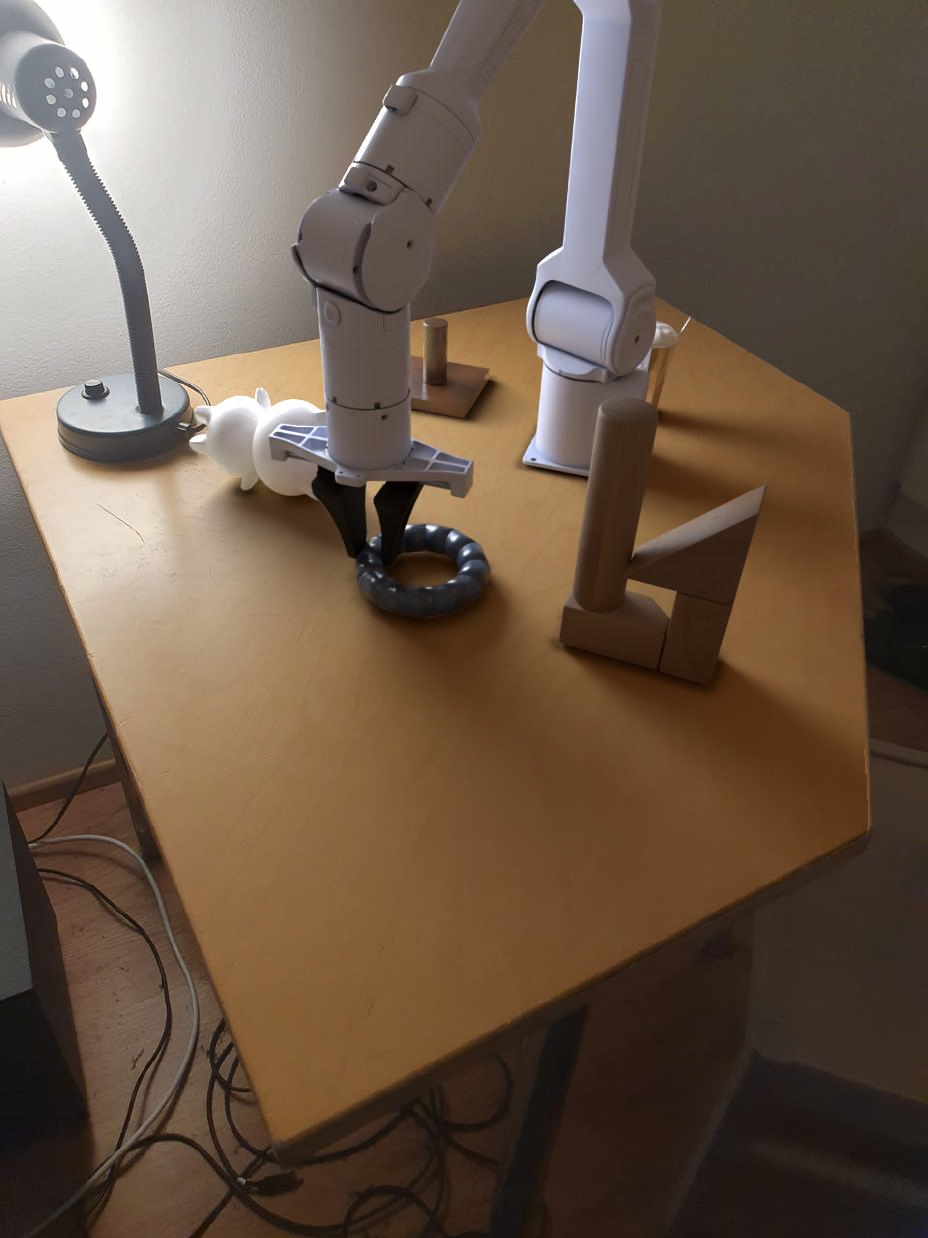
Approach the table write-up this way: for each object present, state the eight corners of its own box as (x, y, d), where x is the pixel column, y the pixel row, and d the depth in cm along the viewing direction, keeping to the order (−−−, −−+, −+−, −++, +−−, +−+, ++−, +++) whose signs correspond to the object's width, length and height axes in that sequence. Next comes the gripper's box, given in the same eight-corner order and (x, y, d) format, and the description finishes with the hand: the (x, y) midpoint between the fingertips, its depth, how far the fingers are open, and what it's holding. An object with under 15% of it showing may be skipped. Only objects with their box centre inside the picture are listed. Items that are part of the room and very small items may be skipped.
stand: (489, 379, 95) (493, 312, 91) (463, 418, 89) (466, 348, 84) (408, 365, 97) (408, 298, 92) (377, 402, 91) (375, 333, 86)
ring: (503, 556, 72) (504, 533, 70) (465, 636, 64) (466, 612, 63) (384, 530, 74) (383, 508, 72) (334, 605, 67) (333, 582, 65)
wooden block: (708, 688, 62) (777, 456, 50) (556, 645, 64) (588, 415, 53) (717, 654, 64) (785, 426, 53) (571, 614, 67) (604, 388, 55)
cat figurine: (191, 371, 74) (322, 396, 70) (260, 390, 84) (377, 413, 80) (175, 478, 75) (303, 508, 72) (244, 484, 85) (359, 511, 82)
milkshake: (674, 425, 89) (694, 326, 83) (619, 423, 89) (635, 324, 83) (667, 403, 93) (686, 306, 86) (614, 401, 93) (629, 304, 86)
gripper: (239, 397, 59) (262, 564, 68) (453, 437, 56) (448, 607, 65) (287, 353, 64) (303, 514, 73) (485, 387, 61) (477, 551, 70)
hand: (374, 554), depth 69 cm, fingers closed on ring, 2 cm apart
